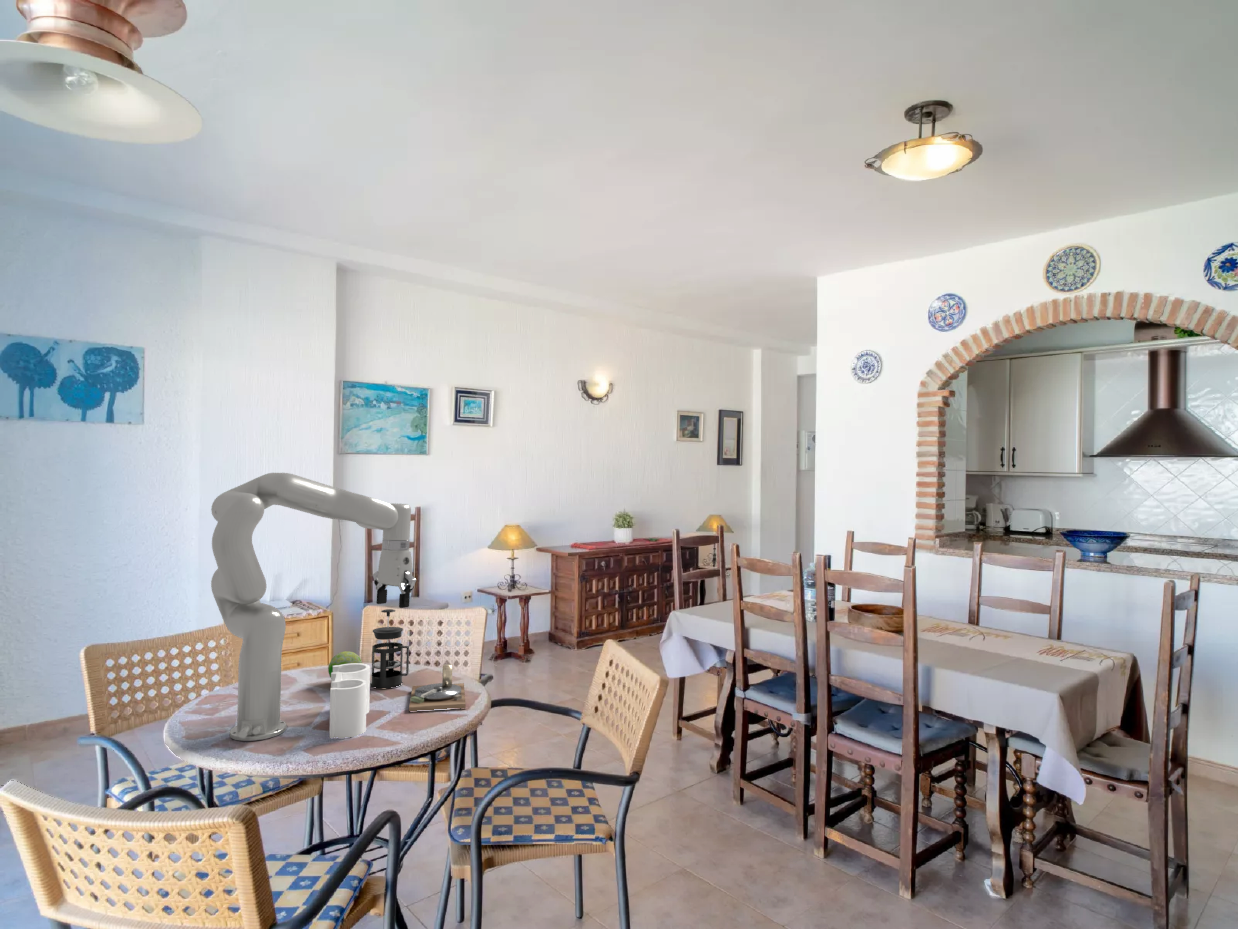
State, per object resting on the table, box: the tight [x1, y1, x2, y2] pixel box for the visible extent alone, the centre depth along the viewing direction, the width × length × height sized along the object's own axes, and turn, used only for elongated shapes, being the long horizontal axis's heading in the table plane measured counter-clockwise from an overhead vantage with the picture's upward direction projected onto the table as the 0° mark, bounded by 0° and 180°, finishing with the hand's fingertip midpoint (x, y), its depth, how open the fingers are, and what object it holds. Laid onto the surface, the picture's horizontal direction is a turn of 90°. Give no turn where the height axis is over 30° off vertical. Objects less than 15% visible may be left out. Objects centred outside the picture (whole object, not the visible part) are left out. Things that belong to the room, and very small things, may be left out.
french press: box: [370, 608, 410, 689], centre depth 217 cm, size 12×9×23 cm
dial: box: [415, 663, 461, 701], centre depth 202 cm, size 14×13×7 cm
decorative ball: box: [327, 651, 363, 679], centre depth 216 cm, size 10×10×10 cm
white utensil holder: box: [329, 662, 371, 739], centre depth 184 cm, size 25×10×12 cm, turn 19°
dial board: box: [408, 682, 467, 712], centre depth 202 cm, size 20×15×2 cm
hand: (392, 605), depth 203 cm, fingers open, 9 cm apart
